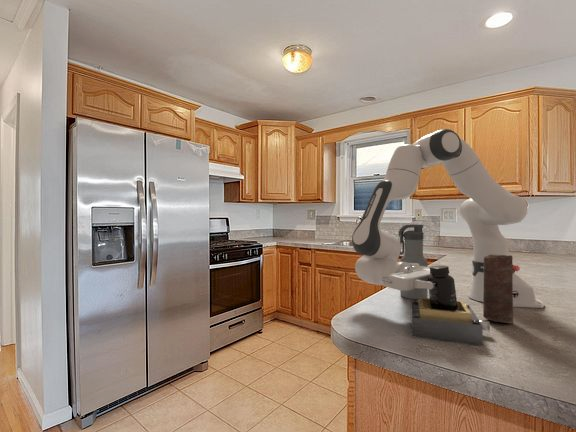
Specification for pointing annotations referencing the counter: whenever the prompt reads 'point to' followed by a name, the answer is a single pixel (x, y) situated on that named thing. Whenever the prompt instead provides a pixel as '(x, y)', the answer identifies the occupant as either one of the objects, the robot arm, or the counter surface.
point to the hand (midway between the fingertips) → (442, 283)
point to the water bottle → (413, 255)
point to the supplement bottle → (442, 289)
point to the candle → (498, 288)
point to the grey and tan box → (446, 323)
